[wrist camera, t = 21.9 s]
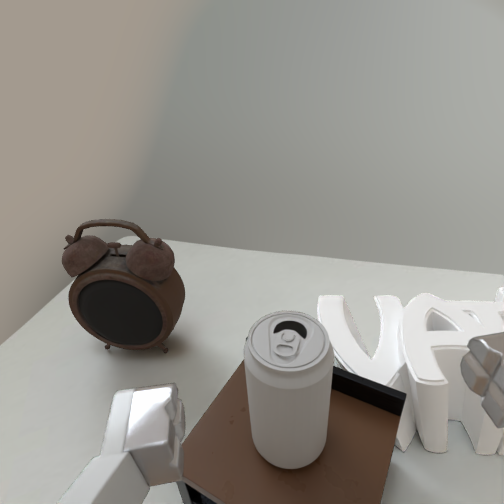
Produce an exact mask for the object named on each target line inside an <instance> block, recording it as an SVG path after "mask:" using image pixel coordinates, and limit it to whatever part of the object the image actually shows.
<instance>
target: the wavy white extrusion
mask: <svg viewBox="0 0 504 504" xmlns="http://www.w3.org/2000/svg"><path fill="white" fill-rule="evenodd" d="M373 297H374V300H375V303H376V307H377V310H378V313H379V317H380V320H381V333H380V339H379V343H378V347H377V349H376V352H375V354H374V356H373V358H372V359H371V358H370V355H369V353H368V351H367V349H366V346H365V344H364V342H363V339H362V337H361V335H360V333H359V330H358V328H357V326H356V323H355V321H354V319H353V317H352V314H351V312H350V310H349V307H348V305H347V303H346V301H345V298H344V296H341V295H321V296H319V299H318V306H317V313H318V321H319V322H320V323H321V324H322V325H323V326H324V327H325V329H326V330H327V333H328V335H329V340H330V342H331V344H332V347H333V351H334V356H335V358H336V359H337V361H338V363H339V364H340V366H341V368H342V369H343V370H346V371H348V372H351V373H353V374H356V375H359V376H361V377H364V378H367V379H369V380H372V381H375V382H377V383H380V384H383V385H385V386H388V387H391V388H393V389H396V390H399V391H401V392H404V393H406V394H407V396H406V400H405V404H404V408H403V411H402V415H401V419H400V423H399V427H398V431H397V435H396V440H395V445H396V446H397V447H398V448H399V449H400V450H402V451H403V452H404V451H405V450H406V448H407V447H408V445H409V444H410V442H411V440H412V438H413V436H414V434H415V432H416V429H417V431H418V434H419V436H420V439H421V441H422V444H423V446H424V448H425V450H428V451H430V452H434V453H443V452H446V451H447V434H448V420H457V421H461V422H462V424H463V426H464V427H465V429H466V431H467V433H468V435H469V437H470V439H471V442H472V444H473V447H474V450H475V453H477V454H481V455H493V454H495V453H496V450H497V452H498V454H499V455H502V456H504V428H497V427H496V426H495V424H494V423H493V421H492V420H491V419H490V417H489V416H488V414H487V413H486V411H485V410H484V409H483V407H482V406H481V396H479V395H477V394H476V393H474V392H473V391H471V390H470V389H469V387H468V386H467V384H466V383H465V381H464V379H463V376H462V374H461V367H460V363H461V360H462V357H463V356H464V355H465V354H466V353H468V352H469V351H470V350H469V348H468V347H467V345H468V342H469V340H470V339H472V338H473V337H477V336H483V335H489V334H494V333H500V332H504V286H502V287H499V288H498V291H497V294H496V298H495V302H492V301H471V300H458V301H445V300H443V299H441V298H439V297H437V296H434V295H432V294H429V293H426V292H424V293H422V294H420V295H418V296H416V297H415V298H413V299H412V300H411V301H410V302H409V303H408V304H407V305H406V306H405V308H403V305H402V304H401V302H400V300H399V298H398V297H396V296H389V295H379V296H373Z"/></svg>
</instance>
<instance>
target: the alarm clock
mask: <svg viewBox="0 0 504 504" xmlns="http://www.w3.org/2000/svg"><path fill="white" fill-rule="evenodd" d="M96 226H115V227H122V228H126V229H130V230H132V231H133V232H134V233H135V234H136V235H137V236H138V237H139V238H140V239H141V240H139V241H137V242H135V243H134V245H121V244H120V243H108V244H107V243H105V242H104V241H103V240H101V239H100V238H98V237H96V236H84V237H81V235H82V232H83V229H86V228H89V227H96ZM65 239H66V241H67V242H68V243H69V244H68V245H67V246H66V247H65V248H64V249H66V250H65V251H64V253H63V256H62V264H63V266H64V268H65V270H66V271H67V273H68V274H69V275H70V276H71V277H75V276H77V275H78V276H77V278H76V279H75V281H74V282H73V284H72V286H71V288H70V291H69V305H70V308H71V311H72V313H73V315H74V317H75V318H76V320H77V321H78V322H79V324H80V325H81V326H82V327H83V328H84V329H85V330H86V331H87V332H89V333H90V334H91V335H93V336H94V337H96V338H97V339H99V340H101V341H103V342H105V343H107V345H106V346H105V349H107V350H108V349H110V345H112V346H115V347H119V348H123V349H129V350H143V349H149V348H152V347H155V346H158V347H159V348H161V349H162V350H164V353H167V352H168V349H167V348H165V346H164V345H163V343H162V342H164V341H165V340H166V339H167V338H168V336H169V335H170V333H171V332H172V330H174V327H175V325H176V323H177V321H178V319H179V317H180V314H181V311H182V307H183V303H184V300H185V288H184V284H183V281H182V279H181V277H180V275H179V274H178V272H177V271H176V270H175V268H174V263H175V259H174V253H173V251H172V249H171V248H170V247H169V246H168V245H167V244H166V243H165V242H163V241H162V240H161V239H160V238H157V239H155V238H149V237H148V236H147V235H146V233H144V231H143V230H142V229H141V228H140V227H139V226H138V225H136V224H134V223H131V222H127V221H123V220H115V219H100V220H92V221H88V222H85V223H83V224H82V225H81V226H80V227H78V228H77V230H76V233H75V236H74V238H73V237H72V236H70V235H67V236H66V237H65Z"/></svg>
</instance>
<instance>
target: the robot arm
mask: <svg viewBox="0 0 504 504" xmlns="http://www.w3.org/2000/svg"><path fill="white" fill-rule="evenodd" d="M467 347H468V348H469V350H470V351H469V352H468V353H466V354H465V355H464V356H463V357H462V360H461V363H460V367H461V374H462V376H463V379H464V381H465V383H466V384H467V386H468V387H469V389H470V390H471V391H473V392H474V393H476V394H477V395H479V396H481V406H482V407H483V409H484V410H485V411H486V413H487V414H488V416H489V417H490V419H491V420H492V421H493V423H494V424H495V426H496V427H497V428H504V332H500V333H494V334H489V335H483V336H477V337H473V338H472V339H470V340H469V342H468V345H467ZM184 436H185V412H184V407H183V403H182V400H181V399H179V398H178V389H177V386H176V384H175V383H170V384H163V385H155V386H148V387H140V388H132V389H125V390H119V391H116V393H115V395H114V397H113V400H112V404H111V408H110V413H109V417H108V421H107V426H106V430H105V434H104V438H103V443H102V447H101V451H100V456H96V457H93V458H92V459H91V461H90V462H89V463H88V464H87V466H86V467H85V468H84V469H83V471H82V472H81V473H80V474H79V476H78V477H77V478H76V479H75V481H74V482H73V483H72V484H71V486H70V487H69V488H68V490H67V491H66V492H65V493H64V495H63V496H62V497H61V498H60V500H59V501H58V502H57V503H56V504H142V503H143V501H144V499H145V497H146V495H147V494H148V492H149V490H150V486H155V485H160V484H165V483H171V482H176V481H181V480H183V471H184V451H183V448H182V445H181V443H180V442H181V441H182V439H183V438H184Z"/></svg>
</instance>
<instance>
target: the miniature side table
mask: <svg viewBox="0 0 504 504" xmlns="http://www.w3.org/2000/svg"><path fill="white" fill-rule="evenodd" d="M247 339H248V337H247V338H246V341H247ZM406 396H407V394H406V393H404V392H401V391H399V390H396V389H393V388H391V387H388V386H385V385H383V384H380V383H377V382H375V381H372V380H369V379H367V378H364V377H361V376H359V375H356V374H353V373H351V372H348V371H346V370H343V369H340V368H338V367H335V366H333V373H332V384H331V394H330V405H329V415H328V426H327V437H326V443H325V446H324V448H323V450H322V452H321V454H320V455H319V456H318V458H317V459H316V460H314V461H313V462H312V463H310V464H309V465H307V466H304V467H301V468H297V469H285V468H280V467H277V466H275V465H273V464H271V463H269V462H268V461H267V460H265V459H264V458H263V457H262V456H261V454H260V453H259V452H258V450H257V449H256V447H255V444H254V442H253V438H252V431H251V421H250V411H249V402H248V392H247V383H246V373H245V364H244V360H243V361H242V363H241V364H240V365H239V367H238V368H237V369H236V371H235V372H234V374H233V375H232V376H231V378H230V379H229V380H228V382H227V383H226V385H225V386H224V387H223V389H222V390H221V391H220V393H219V394H218V396H217V397H216V398H215V400H214V401H213V402H212V404H211V405H210V406H209V408H208V409H207V411H206V412H205V413H204V415H203V416H202V417H201V419H200V420H199V422H198V423H197V424H196V426H195V427H194V428H193V430H192V431H191V433H190V434H189V435H188V437H187V438H186V439H185V441H184V442H183V443H182V448H183V451H184V471H183V480H181V481H176V483H177V485H178V488H179V491H180V494H181V497H182V500H183V503H184V504H380V503H381V498H382V494H383V490H384V486H385V482H386V477H387V473H388V469H389V465H390V461H391V456H392V452H393V448H394V444H395V440H396V435H397V431H398V427H399V423H400V419H401V415H402V411H403V408H404V404H405V400H406Z"/></svg>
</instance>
